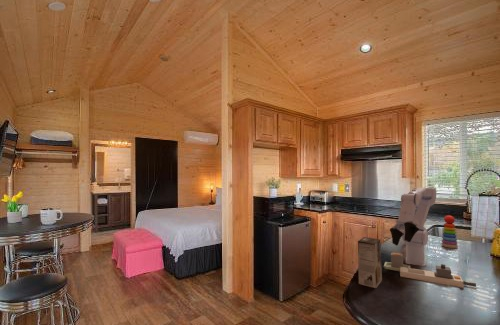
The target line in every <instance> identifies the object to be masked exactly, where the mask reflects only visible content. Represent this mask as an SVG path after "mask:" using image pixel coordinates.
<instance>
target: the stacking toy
mask: <svg viewBox="0 0 500 325" xmlns="http://www.w3.org/2000/svg"><path fill="white" fill-rule="evenodd" d="M443 220H444V222H445V223H444V224H443V230H442V232H443V233H442V237H441V238H442V239H441V246H442V247H444V248H448V249H449V248H450V249H457V248H458V247H459V245H458V238H457V231H456V225H455V224H454V223H455V222H456V219H455V217H454V216H452V215H445V216H444V219H443Z"/></svg>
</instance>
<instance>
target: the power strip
mask: <svg viewBox="0 0 500 325" xmlns="http://www.w3.org/2000/svg"><path fill="white" fill-rule="evenodd" d="M399 275H400V278H407V279H413V280H419V281H425V282H429V283H436V284H442V285H447V286H453V287H458V288H459V289H464V288H465V287H464V286H469V287H474V288H475V287H477V283H476V282H470V281H464V280H463V279H462V277H461V275H455V274H451V279H446V278H440V277H436V271H429V270H424V269H417V268H413V267H410V268H406V267H401V268H400V271H399Z"/></svg>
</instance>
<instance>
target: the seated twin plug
mask: <svg viewBox="0 0 500 325" xmlns="http://www.w3.org/2000/svg"><path fill="white" fill-rule="evenodd" d="M435 272H436V277H440V278H446V279H451V275H452V270H451V268H450V267H449V266H446V264H443V263H441V264H440V265H437V264H436V265H435Z"/></svg>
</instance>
